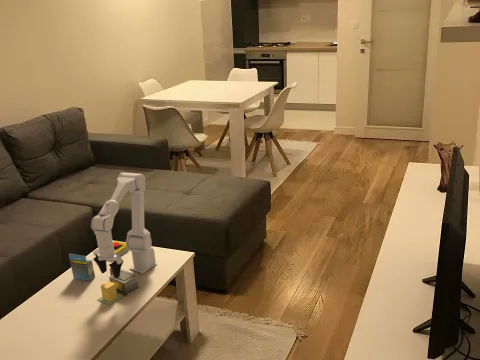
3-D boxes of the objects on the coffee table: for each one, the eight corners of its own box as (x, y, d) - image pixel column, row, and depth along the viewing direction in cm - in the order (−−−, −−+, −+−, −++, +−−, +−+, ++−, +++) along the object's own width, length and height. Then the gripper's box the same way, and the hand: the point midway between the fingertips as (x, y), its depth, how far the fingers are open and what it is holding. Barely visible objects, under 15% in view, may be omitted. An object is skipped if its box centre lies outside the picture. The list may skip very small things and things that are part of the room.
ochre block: (110, 293, 210) (108, 281, 208) (117, 296, 208) (115, 283, 206) (102, 298, 207) (100, 285, 205) (109, 301, 205) (107, 288, 203)
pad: (111, 291, 212) (110, 290, 212) (122, 296, 209) (122, 295, 208) (97, 300, 207) (97, 299, 207) (109, 305, 203) (109, 304, 203)
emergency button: (131, 240, 246) (109, 254, 234) (133, 248, 248) (111, 263, 236) (117, 236, 251) (94, 250, 239) (118, 244, 252) (96, 258, 240)
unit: (123, 281, 219) (121, 268, 217) (139, 287, 214) (137, 274, 212) (110, 290, 214) (108, 276, 211) (125, 296, 209) (123, 282, 206)
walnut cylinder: (116, 277, 223) (114, 265, 221) (123, 279, 221) (121, 267, 219) (109, 281, 220) (107, 269, 218) (116, 284, 218) (114, 271, 215)
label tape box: (95, 276, 224) (91, 251, 220) (90, 281, 221) (85, 256, 216) (78, 274, 227) (73, 249, 223) (72, 278, 224) (67, 253, 219)
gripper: (85, 244, 202) (90, 274, 207) (110, 253, 194) (115, 284, 199) (99, 237, 207) (104, 266, 212) (124, 245, 199) (129, 276, 204)
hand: (110, 274), depth 206 cm, fingers open, 7 cm apart
